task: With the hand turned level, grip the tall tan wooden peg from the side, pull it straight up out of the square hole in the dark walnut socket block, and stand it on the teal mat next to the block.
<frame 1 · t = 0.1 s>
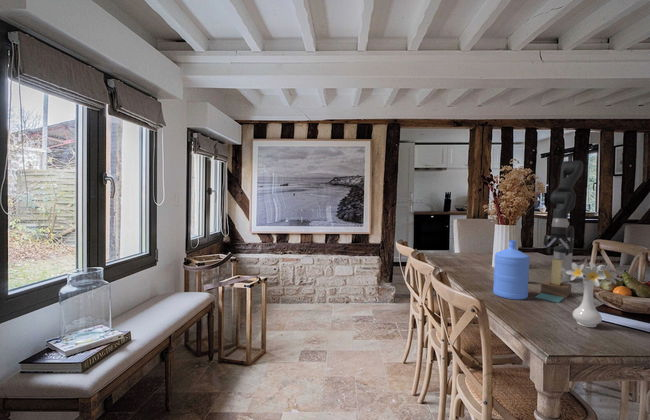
hand: (557, 254, 198), 17 cm above the table, tool pointing down, fingers open, 8 cm apart
flower vase: (584, 325, 137), on the table
socket block: (555, 293, 180), on the table
water jug: (510, 295, 175), on the table
tan wooden peg: (556, 276, 179), in the socket block
teal mat: (549, 298, 171), on the table
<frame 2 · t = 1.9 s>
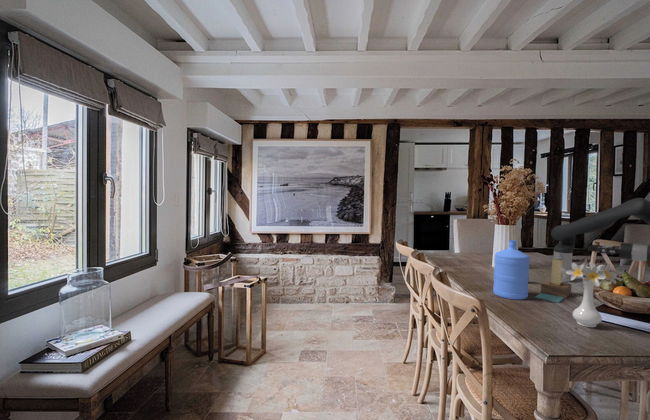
hand: (589, 247, 169), 26 cm above the table, tool horizontal, fingers open, 8 cm apart
nothing on the table moved.
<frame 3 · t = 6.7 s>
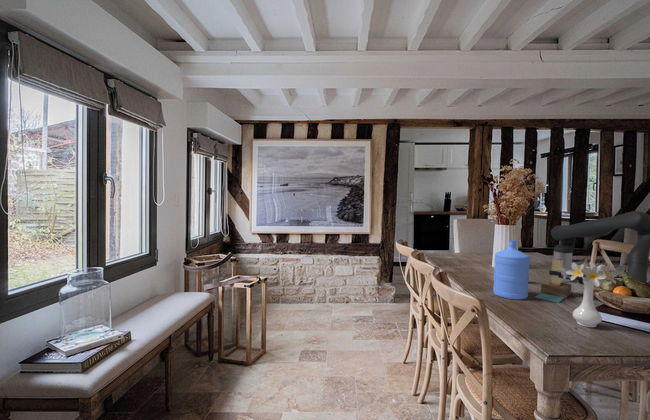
hand: (550, 271, 181), 11 cm above the table, tool horizontal, fingers closed on tan wooden peg, 4 cm apart
tan wooden peg: (556, 276, 179), in the socket block, touching gripper
everything else where it was.
when the fingers open (13 cm above the table, at t = 12.7 s): tan wooden peg drops 1 cm, resting on teal mat.
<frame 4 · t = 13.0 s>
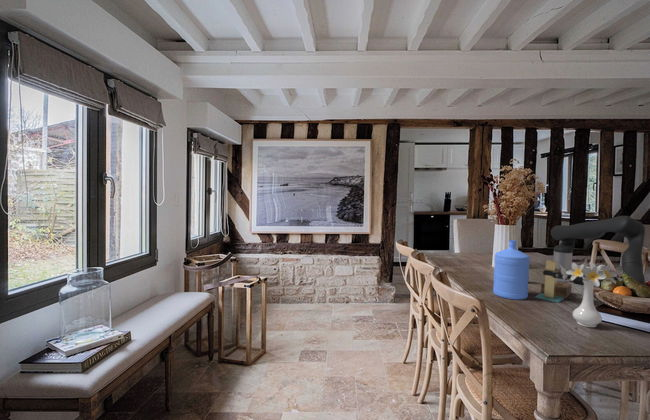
hand: (545, 271, 172), 13 cm above the table, tool horizontal, fingers open, 6 cm apart
tan wooden peg: (550, 279, 171), on the teal mat, point 10 cm above the table
everything else where it was.
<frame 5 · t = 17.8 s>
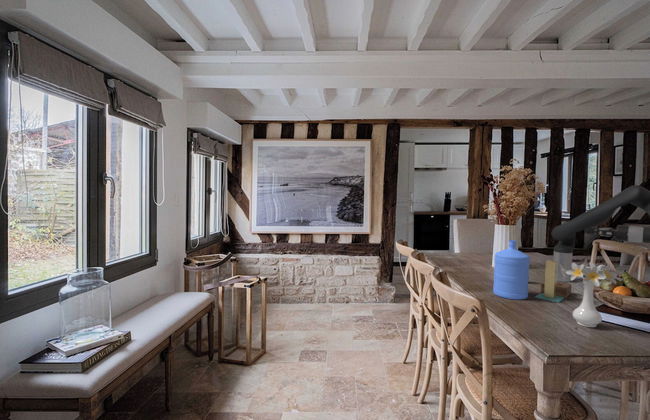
hand: (586, 230, 171), 34 cm above the table, tool horizontal, fingers open, 8 cm apart
nothing on the table moved.
at the end: tan wooden peg inside the target area (0.1 cm from its centre), point 9.6 cm above the table; tan wooden peg tilted 0°; the gripper is holding nothing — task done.
